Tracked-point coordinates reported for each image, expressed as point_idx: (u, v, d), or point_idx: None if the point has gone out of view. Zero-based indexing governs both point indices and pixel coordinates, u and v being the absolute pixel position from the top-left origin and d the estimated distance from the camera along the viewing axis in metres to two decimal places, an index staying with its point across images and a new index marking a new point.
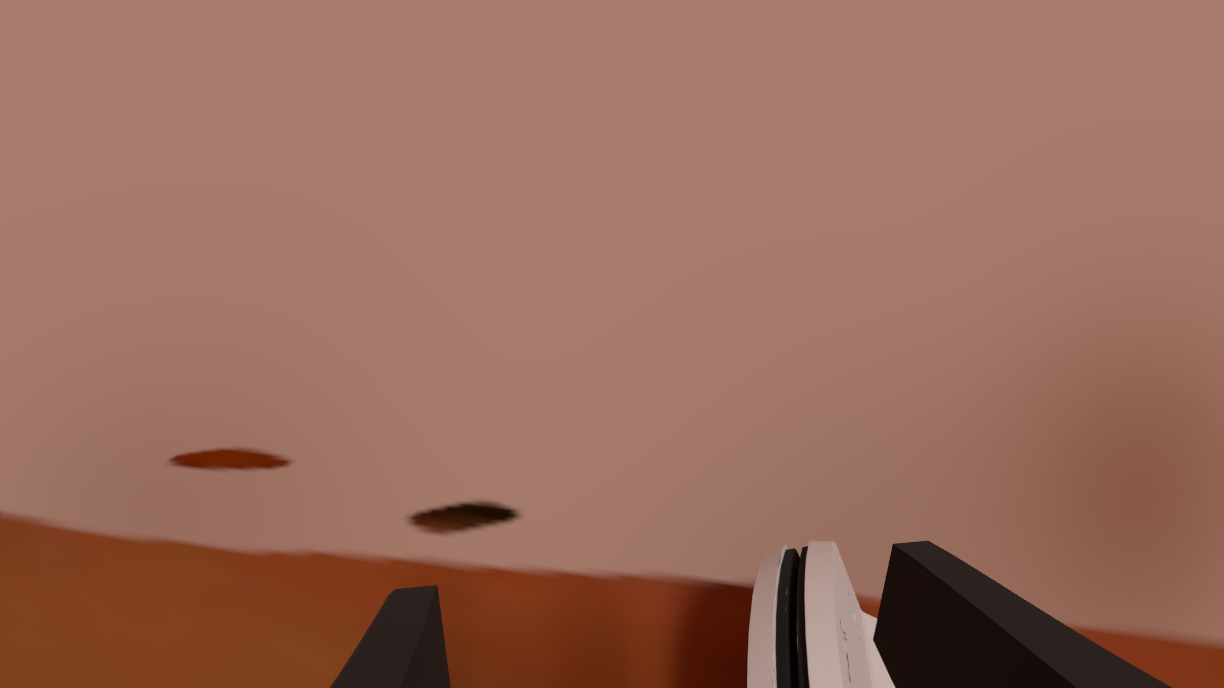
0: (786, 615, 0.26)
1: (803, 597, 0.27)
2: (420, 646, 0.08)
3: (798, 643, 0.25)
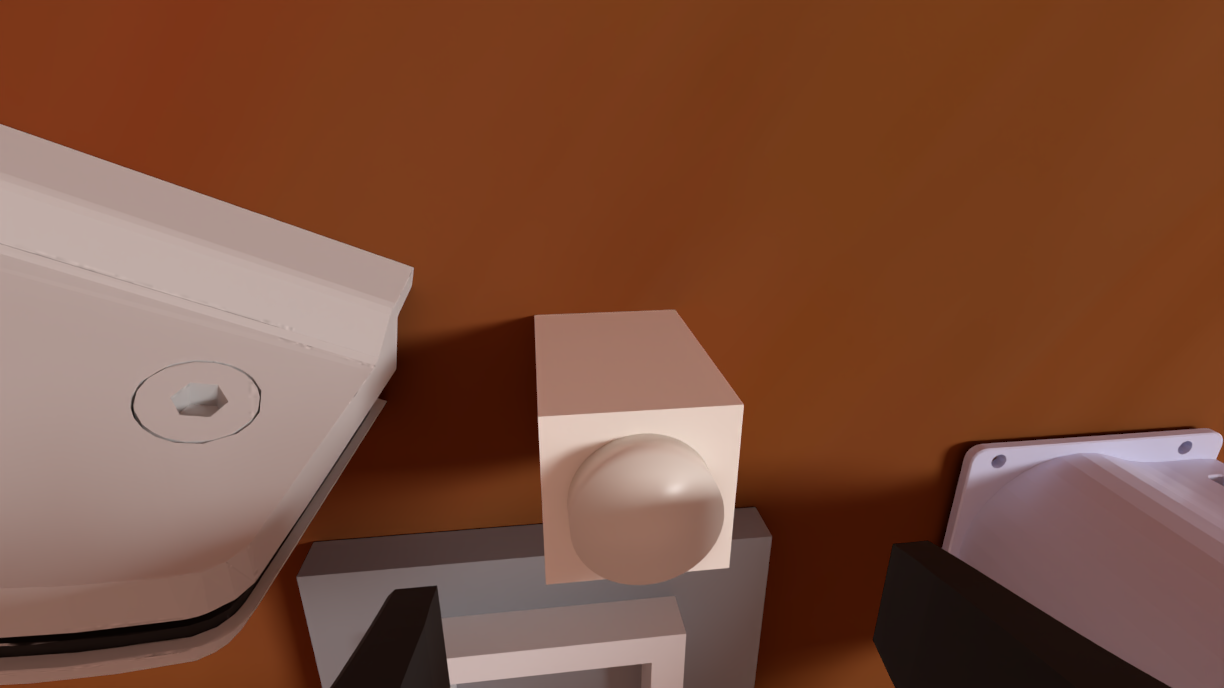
0: None
1: None
2: (420, 646, 0.08)
3: None
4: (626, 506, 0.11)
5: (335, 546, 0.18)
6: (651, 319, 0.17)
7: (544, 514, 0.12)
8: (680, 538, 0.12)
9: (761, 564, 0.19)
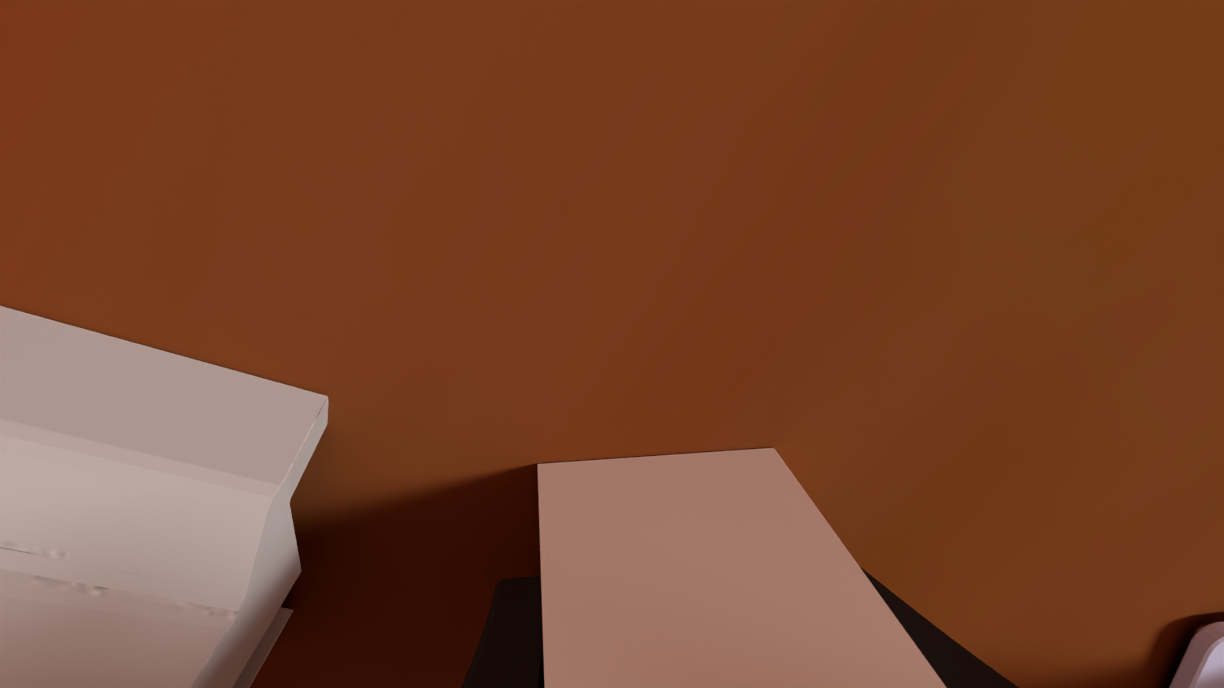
0: None
1: None
2: None
3: None
4: None
5: None
6: (741, 475, 0.10)
7: None
8: None
9: None
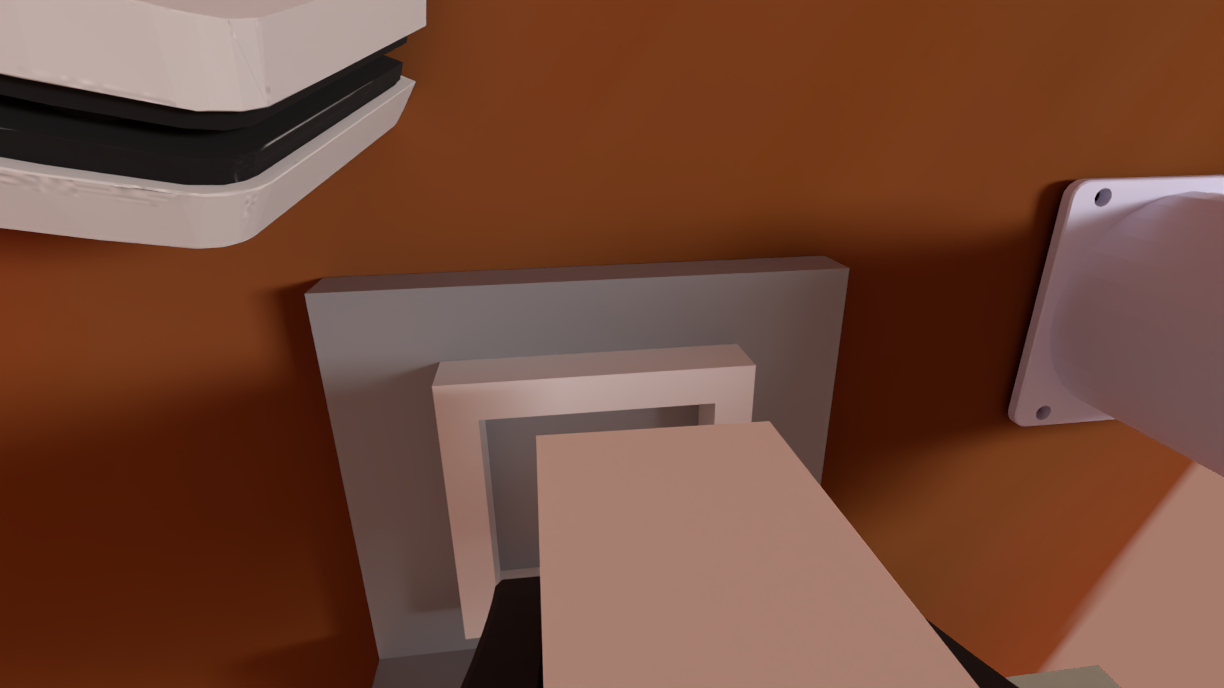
0: None
1: None
2: None
3: None
4: None
5: (349, 279, 0.16)
6: (737, 445, 0.10)
7: None
8: None
9: (836, 306, 0.17)
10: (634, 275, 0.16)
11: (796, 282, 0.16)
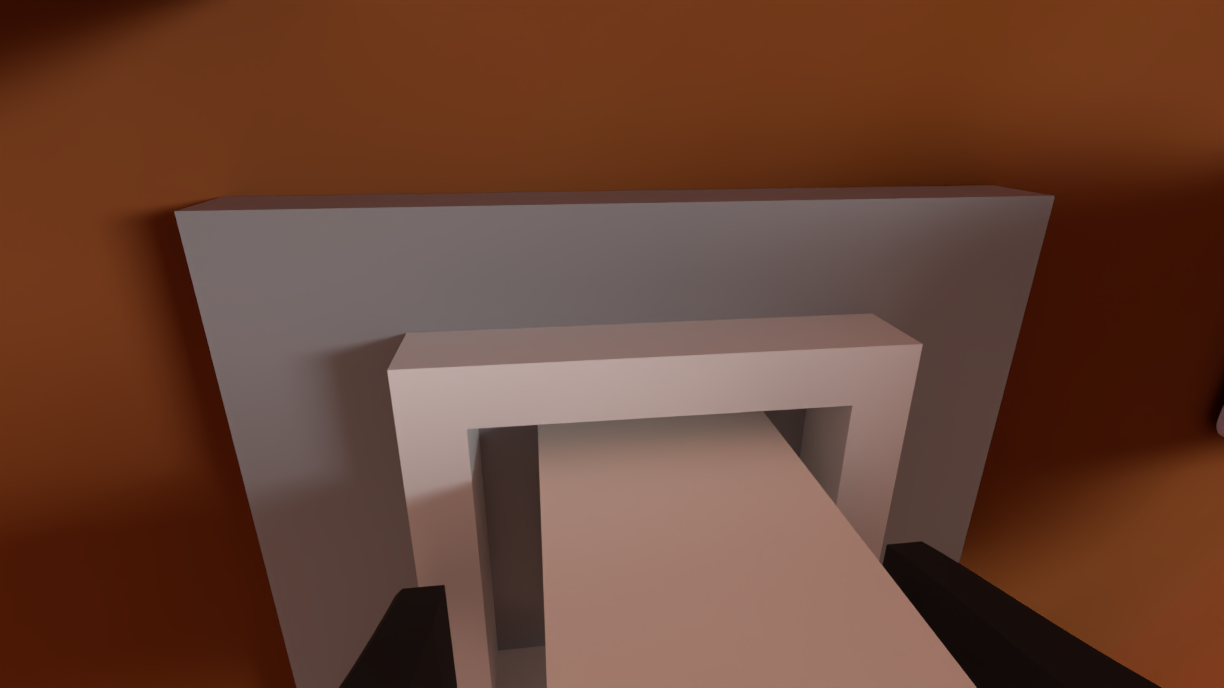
0: None
1: None
2: (429, 645, 0.08)
3: None
4: None
5: (261, 198, 0.10)
6: (726, 424, 0.10)
7: None
8: None
9: (1026, 257, 0.11)
10: (721, 199, 0.10)
11: (972, 216, 0.10)
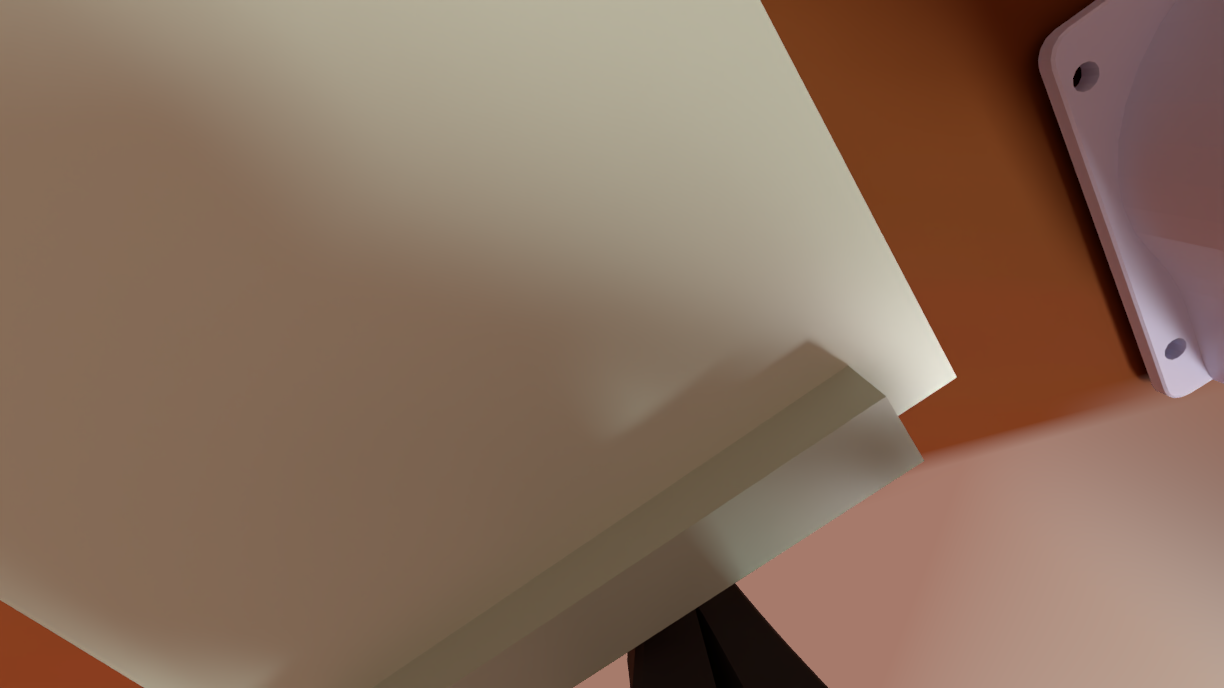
0: None
1: None
2: None
3: None
4: None
5: None
6: None
7: None
8: None
9: None
10: None
11: None
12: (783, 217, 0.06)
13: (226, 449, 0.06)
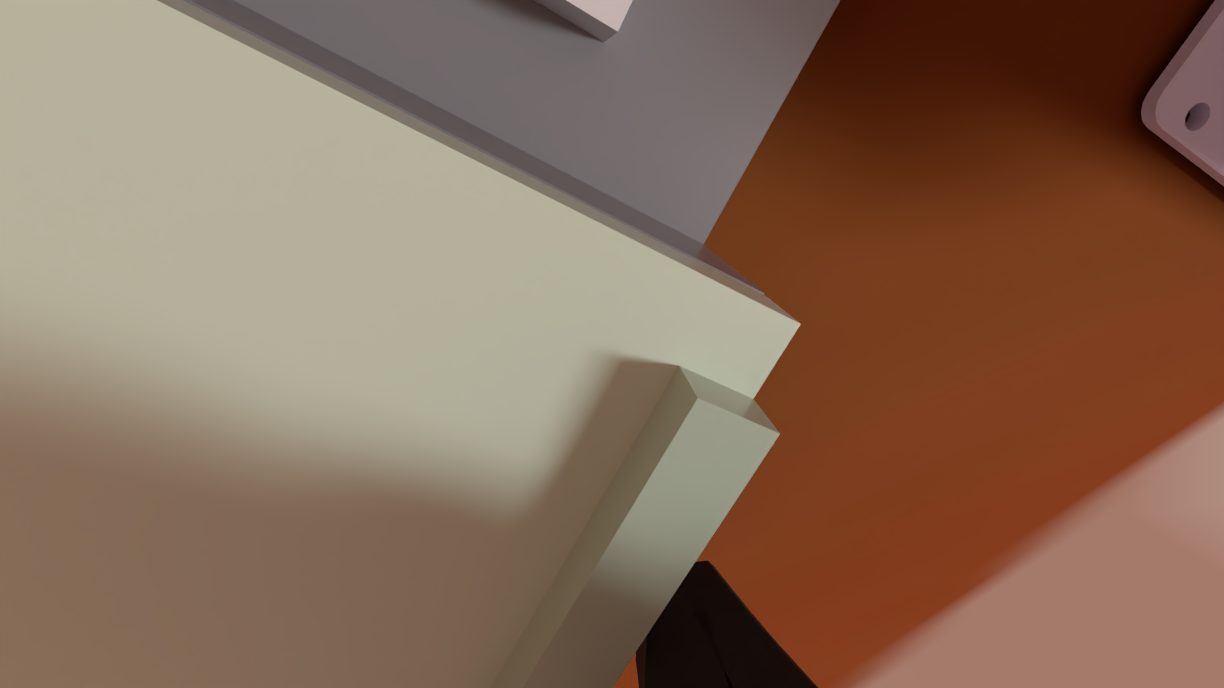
0: None
1: None
2: None
3: None
4: None
5: None
6: None
7: None
8: None
9: None
10: None
11: None
12: (524, 273, 0.06)
13: (193, 664, 0.07)
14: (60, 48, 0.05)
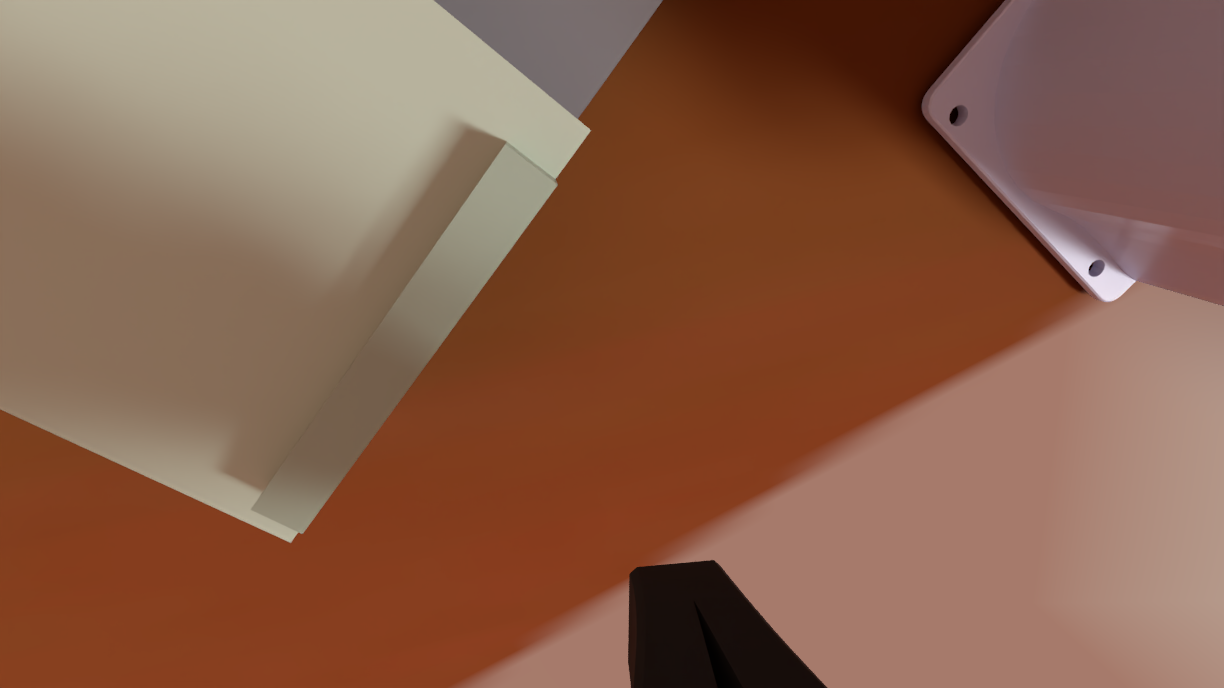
0: None
1: None
2: None
3: None
4: None
5: None
6: None
7: None
8: None
9: None
10: None
11: None
12: (410, 49, 0.09)
13: (132, 296, 0.10)
14: None
